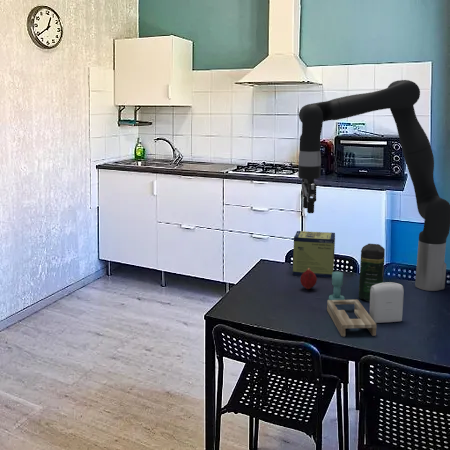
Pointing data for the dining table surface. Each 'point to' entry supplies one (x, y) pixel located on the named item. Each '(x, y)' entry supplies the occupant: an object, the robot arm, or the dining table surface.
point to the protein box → (314, 253)
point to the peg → (337, 286)
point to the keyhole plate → (345, 322)
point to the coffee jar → (371, 269)
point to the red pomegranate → (308, 279)
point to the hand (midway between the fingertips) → (308, 210)
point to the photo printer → (386, 302)
